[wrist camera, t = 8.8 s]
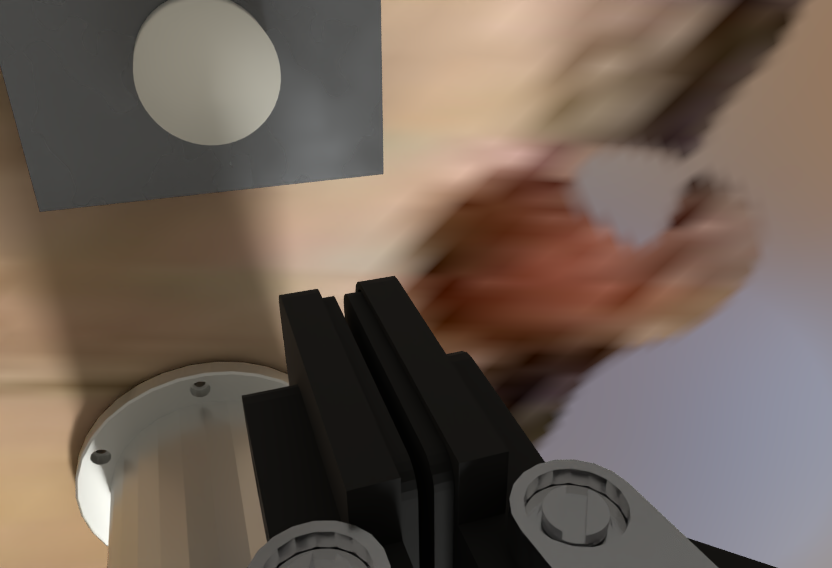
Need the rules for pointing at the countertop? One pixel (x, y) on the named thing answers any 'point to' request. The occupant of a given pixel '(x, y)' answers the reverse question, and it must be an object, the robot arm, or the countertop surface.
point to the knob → (205, 70)
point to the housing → (158, 149)
